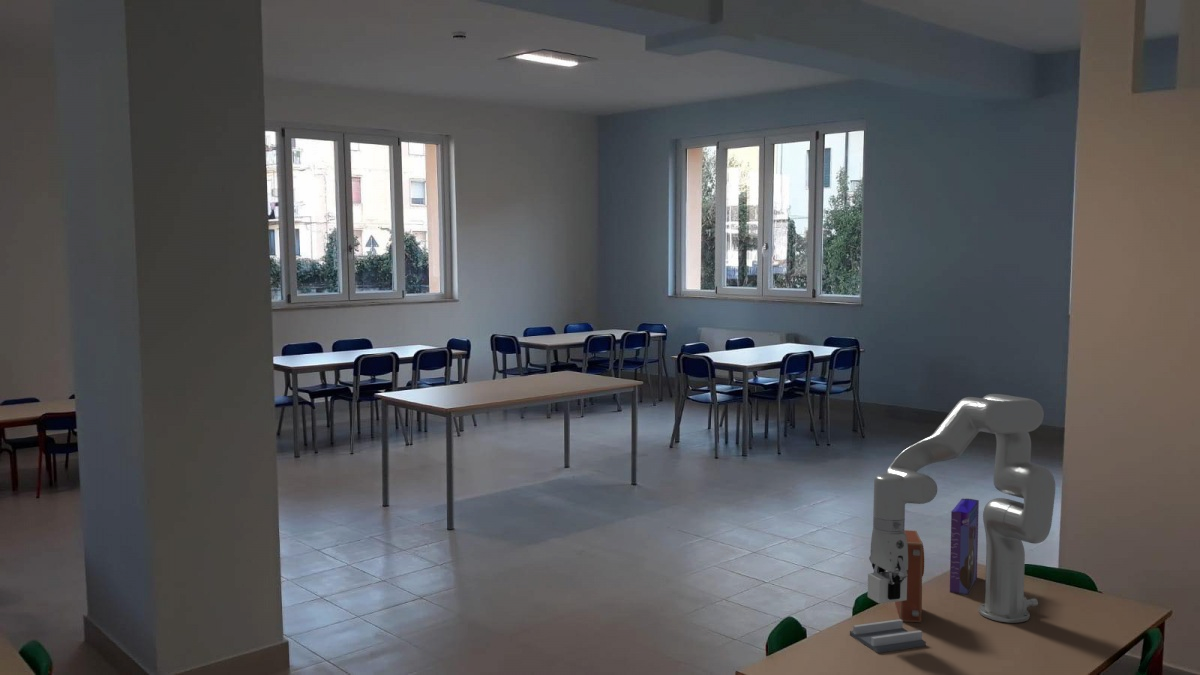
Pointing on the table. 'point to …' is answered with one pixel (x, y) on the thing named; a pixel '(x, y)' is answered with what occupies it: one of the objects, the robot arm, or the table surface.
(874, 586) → the block
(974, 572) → the cereal box
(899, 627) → the grey rail base plate
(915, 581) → the orange upright battery pack
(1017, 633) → the table surface
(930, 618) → the table surface
